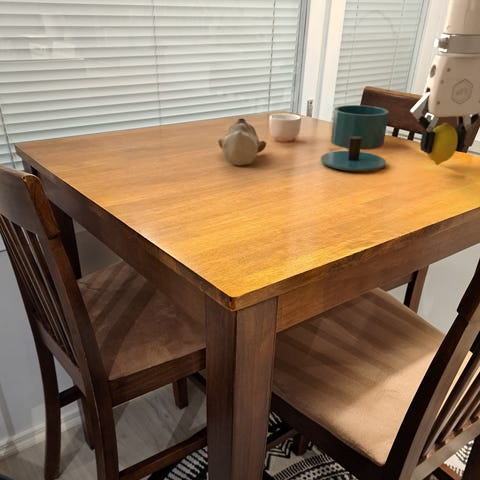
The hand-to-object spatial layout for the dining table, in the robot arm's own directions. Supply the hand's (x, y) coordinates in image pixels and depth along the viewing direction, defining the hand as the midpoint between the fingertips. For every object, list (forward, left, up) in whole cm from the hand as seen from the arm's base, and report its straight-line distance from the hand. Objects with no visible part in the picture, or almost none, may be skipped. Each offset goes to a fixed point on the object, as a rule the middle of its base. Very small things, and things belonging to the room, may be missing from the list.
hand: (440, 149), depth 97 cm
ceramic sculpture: (+37, -17, -5) cm, 41 cm away
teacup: (+23, -34, -5) cm, 41 cm away
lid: (+14, -10, -4) cm, 17 cm away
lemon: (0, 0, -3) cm, 3 cm away
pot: (+6, -28, -5) cm, 29 cm away
